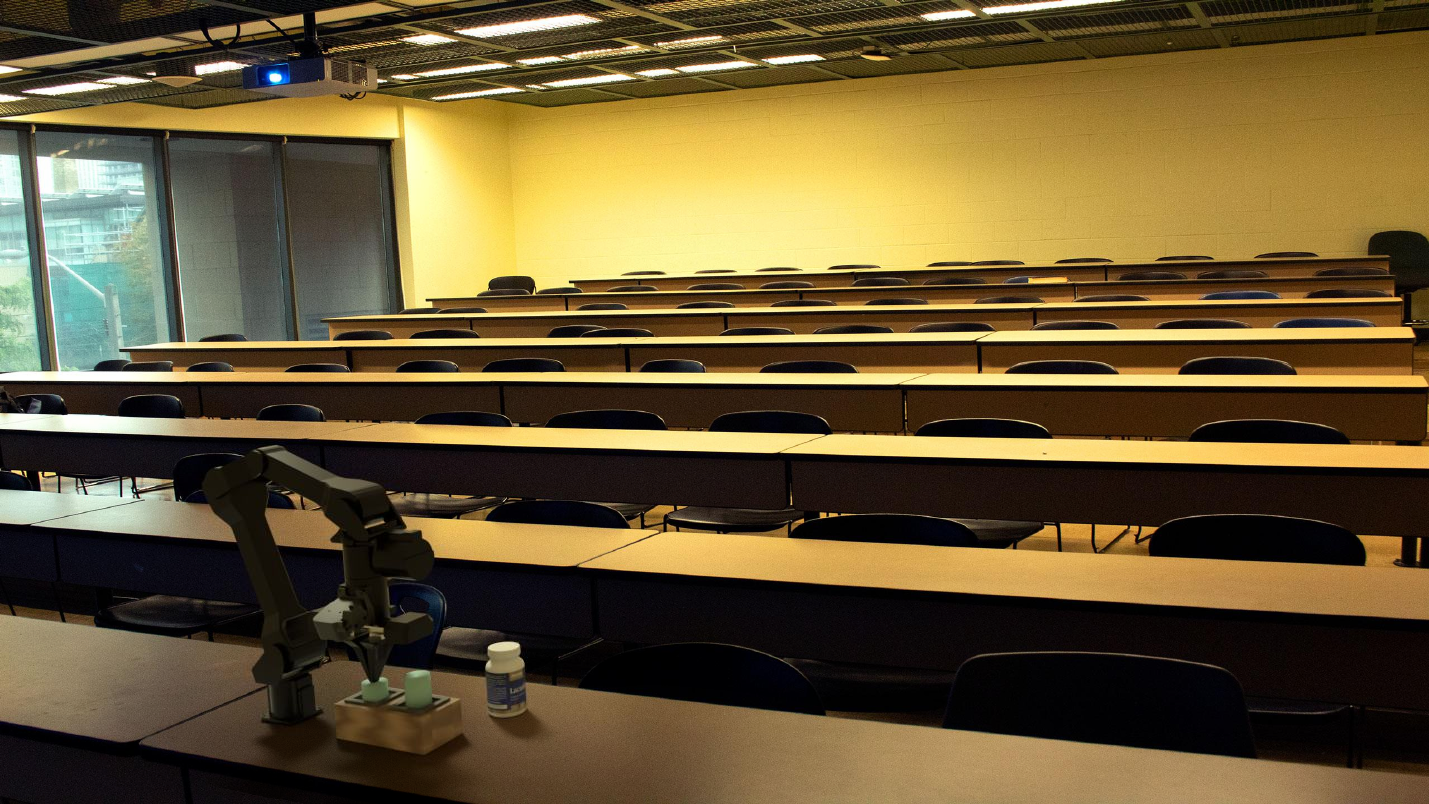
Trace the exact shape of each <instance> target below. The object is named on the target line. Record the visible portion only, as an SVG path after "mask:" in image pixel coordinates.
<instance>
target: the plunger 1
mask: <svg viewBox="0 0 1429 804" xmlns="http://www.w3.org/2000/svg"><path fill="white" fill-rule="evenodd" d="M360 687H361V691H362V699H363V700H365V701H371V702H378V701H380V700H382V699H384V698H386V697H388V696H389V691H388V687H389V682H388V678H387V677H382V676H380V679H379V681H377V682H375V683H372V682H369V680H368V678H367V679H365V680H363V681H361V685H360Z"/></svg>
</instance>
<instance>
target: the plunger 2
mask: <svg viewBox="0 0 1429 804" xmlns="http://www.w3.org/2000/svg"><path fill="white" fill-rule="evenodd" d="M403 684H404V685H403V686H404V687H403V688H404V689H403V690H405V703H406V708H412V709H418V710H421V709H423V708H425V707H427V706H429V705H431V704H432V694H433V692H432V691H433V690H432V677H431V672H430V671H428V670H423V669H422V670H412V671H409V672H407V673H405V674H404V675H403Z"/></svg>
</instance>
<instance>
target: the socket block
mask: <svg viewBox="0 0 1429 804" xmlns="http://www.w3.org/2000/svg"><path fill="white" fill-rule="evenodd" d="M388 691H389V696H388V697H386V698H384V699H382V700H380V701H378V702H371V701H365V700H363V699H362V690H360V691H358V692H356V693H355V694H352V695H350V696H348V697H346V698H344V699H341V700H339V701H338V702H335V703H333V709H334V710H333V711H334V721H335V731H336V739H340V740H345V741H349V742H355V743H360V744H364V745H365V744H366V745H371V746H376V747H380V748H386V749H391V750H396V751H402V752H406V753H407V752H408V753H412V754H417V755H421V756H425V755H427V754H429V753H431V752H433V751H434V750H436V749H438V748H440V747H441V746H443V745H444V744H447V743H448V742H450V741H452V740H453V739H456V738H457V737H459V736H460V735H462V734H464V728H463V715H462V699H461V698H458V697H451V696H445V695H439V694H433V693H432V704H431V705H429V706H427V707H425V708H423V709H421V710H418V709H412V708H406V703H405V689H401V688H395V687H390V686H388Z"/></svg>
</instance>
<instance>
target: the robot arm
mask: <svg viewBox="0 0 1429 804" xmlns="http://www.w3.org/2000/svg"><path fill="white" fill-rule="evenodd" d="M272 482H273V483H275V484H276V485H279V486H280V487H282V488H284V489H287V490H288V491H290V492H293V493H294V494H297V495H298V496H300V497H303V498H304V499H306V500H307V501H310V502H312V503H314V504H316V505H317V506H318V507H320V509H321V510H322V513H323V515H324V517H325V518H326V519H327V520H328V521H330V522H331V523H332V524H333V525H335V526H337V528H338V530H337V531H336V532H335V533H334V534H333V535H332V536H331V537H330V538H329V541H330V543H332V544H340V545H341V546H342V548H341V549H342V556H343V557H342V559H343V570H344V571H343V572H344V582H343V583H342V584H339V585H338V588H337V598H336V599H335V600H333V601H331V602H329V603H328V604H327V605H325V606H322V607H320V608H317V609H313V610H310V611H308V610H307V609H306V608H304V607H303V606H302V605H301V604H300V603H299V601H298V599H297V596H296V593H295V591H294V587H293V585H292V582H291V580H290V578H289V574H288V572H287V570H286V567H285V564H284V562H283V559H282V556H281V554H280V551H279V548H278V546H277V543H276V540H275V537H274V535H273V532H272V529H271V528H270V524H269V522H268V519H267V516H266V511H267V506H268V502H269V501H268V500H269V496H270V495H269V494H270V493H269V490H268V485H269V484H271V483H272ZM201 486H202V487H201V489H202V492H203V495H204V498H205V499H206V501H207V503H208V505H209V507H210V509H211V511H212V512H213V514H214V515H216V517H218V518H219V519H221V520H222V521H223V522H224V523H226V524H227V525H228V526H229V527H230V529H231V530H232V533H233V536H234V539H235V541H236V544H237V546H238V549H239V552H240V555H241V558H242V560H243V563H244V565H245V568H246V570H247V573H248V576H249V578H250V581H251V584H252V587H253V590H254V592H255V594H256V598H257V600H258V602H259V605H260V608H261V610H262V613H263V617H264V621H263V625H262V630H261V634H260V641H261V645H262V648H263V653H262V655H261V656H260V657H259V659H258V660H257V661H256V662H255V663H254V665H253V666H252V668H251V673H252V675H253V678H254V682H255V683H256V684H260V685H261V684H262V685H266V695H267V707H268V712H267V713H264V714H262V715H261V716H260V720H262V721H265V722H266V721H267V722H272V723H277V724H283V725H288V726H291V725H295V724H297V723H299V722H301V721H303V720H305V719H307V718H310V717H312V716H314V715H316V714H318V713H320V712H322V711H324V706H321V705H317V702H316V690H315V684H314V683H313V674H312V673H310V672H313V671H315V670H316V671H317V670H319V669H321V668H322V666H323V661H324V656H325V653H326V649H327V648H328V641H329V640H330V641H334V642H337V643H340V642H344V643H345V644H347V645H348V646H350V647H352V648H353V651H354V652H355V654H356V657H357V659H359V663H360V664H361V666H362V669H363V671H364V673H365V675H366V677H367V679H368V680H369V682H372V683H375V682H377V681H379V679H380V677H382V673H383V671H384V669H385V666H386V663H387V661H388V658H389V656H390V653H391V651H392V648H393V647H394V645H403V646H404V645H410V644H412V643H414V642H416V641H419V640H420V639H424V638H426V637H428V636H430V635H432V634H434V632H435V631H434V619H433V617H431V615H429V614H428V613H420V612H413V611H408V612H406V613H403V614H401V615H398V616H396V617H391V616H392V615H394V614H397V606H396V605H393V604H392V605H391V604H390V593H389V587H391V586H394V585H395V579H400V580H408V581H422V580H425V579H427V577H428V576H429V575H430V574H431V572H432V570H433V568H434V565H435V551H434V549H433V547H432V545H431V543H430V542H429V541H428V540H427V539H424V538H423V531H422V529H410V530H408V528H407V527H408V526H407V524H406V522H405V521H404V520H403V517H402V515H400V513H399V512H398V509H397V508H396V507H395V506H394V504H393V502H392V500H391V499H390V497H389V496H388V495H387V490H386V489H385V488H384V487H383V485H381V484H378V483H376V482H373V481H368V480H363V479H360V478H359V479H357V478H346V477H341V476H338V475H336V474H334V473H332V472H330V471H328V470H326V469H324V468H322V467H320V466H318V465H316V464H313V463H311V462H310V461H307V460H305V459H304V458H302V457H299V456H297V455H295V454H293V453H292V452H289V451H288V450H287V448H285V447H284V446H282V445H281V446H280V445H277V444H275V445H268V446H264V447H259V448H254V449H253V450H252V451H249V452H248V453H247V454H245V455H244V456H242V457H240V458H238V459H237V458H236V460H233V461H231V462H229V463H227V464H225V465H222V466H217V467H212V468H210V469H209V470H208V471H207V472H206V474H205V476H204V479H203V481H202V485H201ZM381 522H383V523H381ZM327 640H328V641H327Z"/></svg>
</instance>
